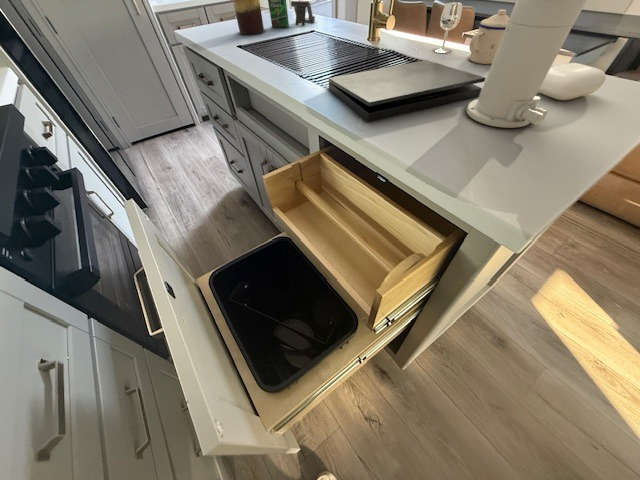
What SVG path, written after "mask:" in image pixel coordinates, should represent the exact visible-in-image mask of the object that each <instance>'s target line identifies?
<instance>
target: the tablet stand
mask: <svg viewBox="0 0 640 480" xmlns="http://www.w3.org/2000/svg"><path fill="white" fill-rule="evenodd" d="M290 6H291V8H293V9H294V13H295V26H299V24H300V23H301V26H305V25H306V23H311V24H312V23H313V24H314V23H315V22H316V18H315V17H316V16H314V14H313V11H312V5H311V1H310V0H291V1H290ZM306 12H307V13H306ZM306 14H308V15H307V16H308V17H306Z"/></svg>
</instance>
